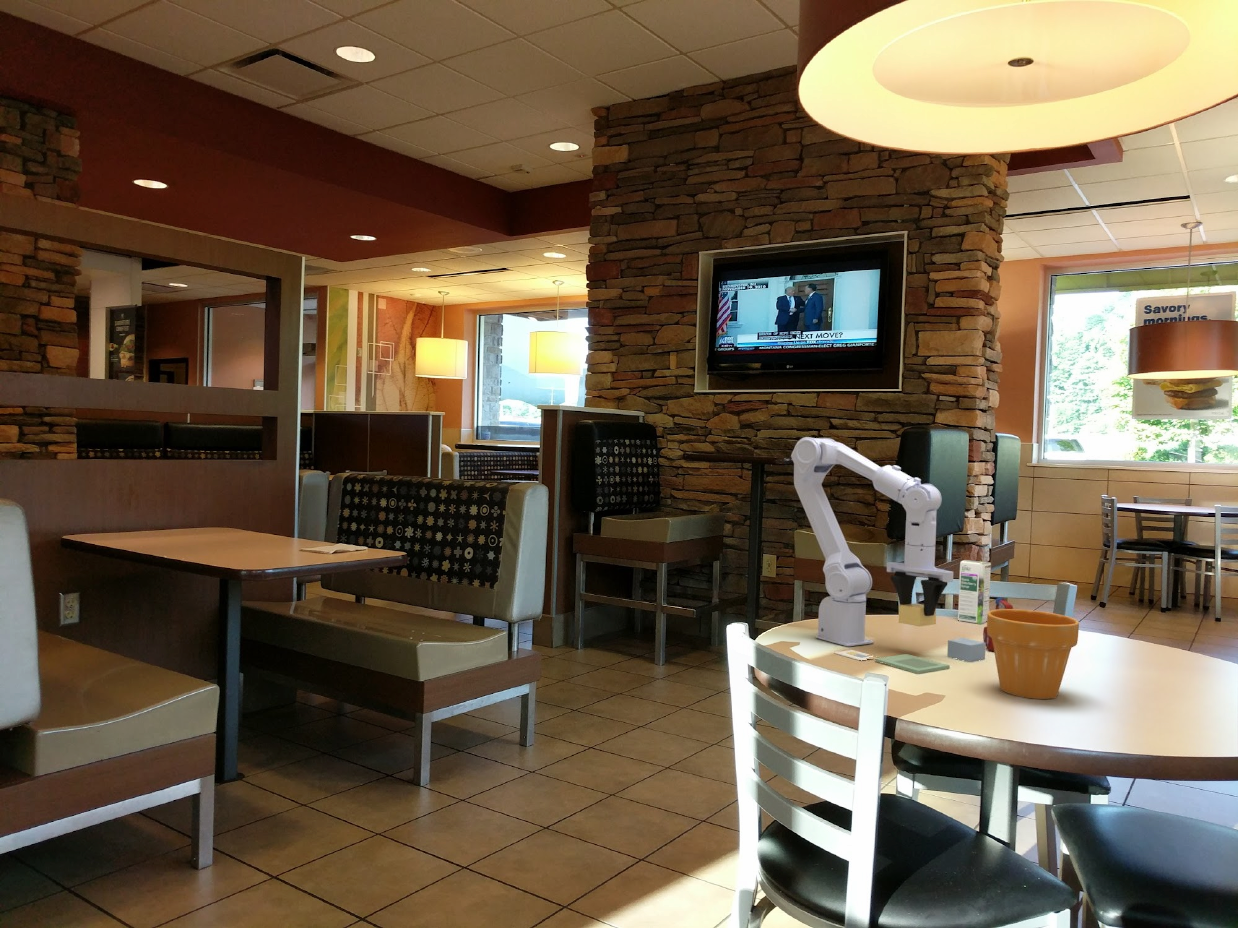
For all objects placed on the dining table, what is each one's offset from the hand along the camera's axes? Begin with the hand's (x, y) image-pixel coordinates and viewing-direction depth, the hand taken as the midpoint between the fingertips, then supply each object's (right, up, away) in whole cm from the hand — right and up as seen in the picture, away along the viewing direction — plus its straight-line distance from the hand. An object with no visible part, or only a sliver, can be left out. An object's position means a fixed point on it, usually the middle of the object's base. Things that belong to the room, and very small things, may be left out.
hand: (917, 612), depth 178 cm
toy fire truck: (+21, -9, +8) cm, 24 cm away
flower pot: (+11, -10, -26) cm, 29 cm away
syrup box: (+26, -9, +38) cm, 47 cm away
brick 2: (+9, -9, -1) cm, 13 cm away
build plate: (-4, -8, -9) cm, 13 cm away
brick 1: (0, -2, 0) cm, 2 cm away
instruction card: (-13, -8, -3) cm, 15 cm away
